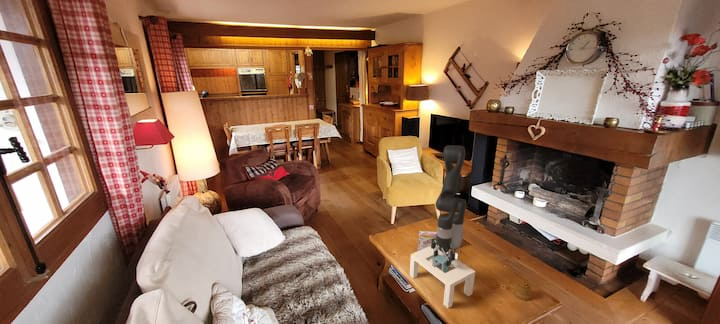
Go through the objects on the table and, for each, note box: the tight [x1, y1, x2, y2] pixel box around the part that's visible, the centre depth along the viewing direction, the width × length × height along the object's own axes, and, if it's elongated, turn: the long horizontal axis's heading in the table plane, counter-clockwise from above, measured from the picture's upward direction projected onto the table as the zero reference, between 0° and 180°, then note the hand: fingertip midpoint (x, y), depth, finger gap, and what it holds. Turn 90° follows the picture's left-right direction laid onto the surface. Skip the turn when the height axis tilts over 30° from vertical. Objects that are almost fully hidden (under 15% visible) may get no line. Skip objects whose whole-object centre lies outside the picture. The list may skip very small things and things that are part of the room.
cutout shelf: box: [409, 246, 476, 309], centre depth 153 cm, size 18×28×15 cm, turn 31°
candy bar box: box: [417, 230, 437, 251], centre depth 176 cm, size 11×5×16 cm, turn 84°
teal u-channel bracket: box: [434, 255, 449, 273], centre depth 151 cm, size 4×6×9 cm, turn 31°
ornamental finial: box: [513, 280, 532, 301], centre depth 146 cm, size 8×8×8 cm
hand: (441, 261), depth 151 cm, fingers open, 8 cm apart
